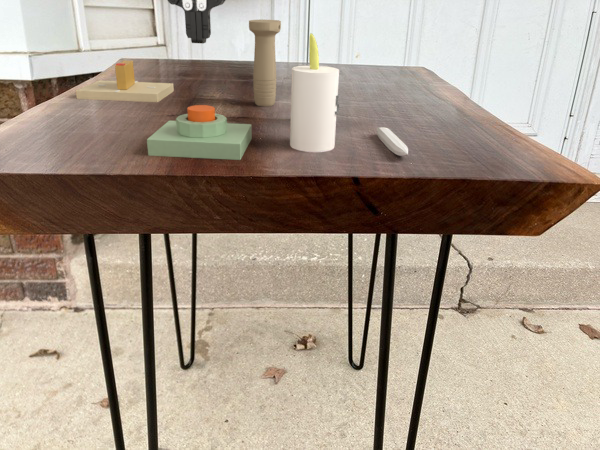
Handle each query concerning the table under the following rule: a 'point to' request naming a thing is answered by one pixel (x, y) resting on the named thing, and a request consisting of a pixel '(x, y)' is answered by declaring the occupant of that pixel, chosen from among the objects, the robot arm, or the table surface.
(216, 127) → the green button mount
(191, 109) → the bell button
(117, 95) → the plate
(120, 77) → the thumbturn
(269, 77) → the handle
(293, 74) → the candle
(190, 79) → the table surface
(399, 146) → the white faceted rod
